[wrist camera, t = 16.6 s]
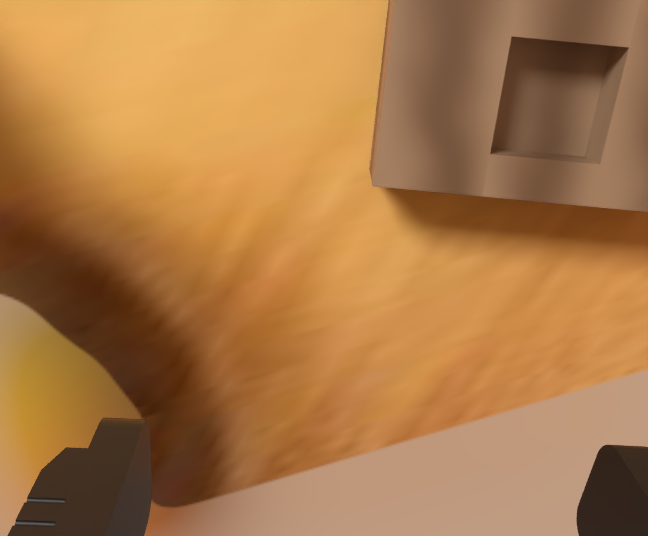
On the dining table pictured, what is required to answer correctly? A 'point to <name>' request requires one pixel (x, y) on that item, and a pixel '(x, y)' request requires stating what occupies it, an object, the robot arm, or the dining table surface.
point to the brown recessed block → (516, 100)
